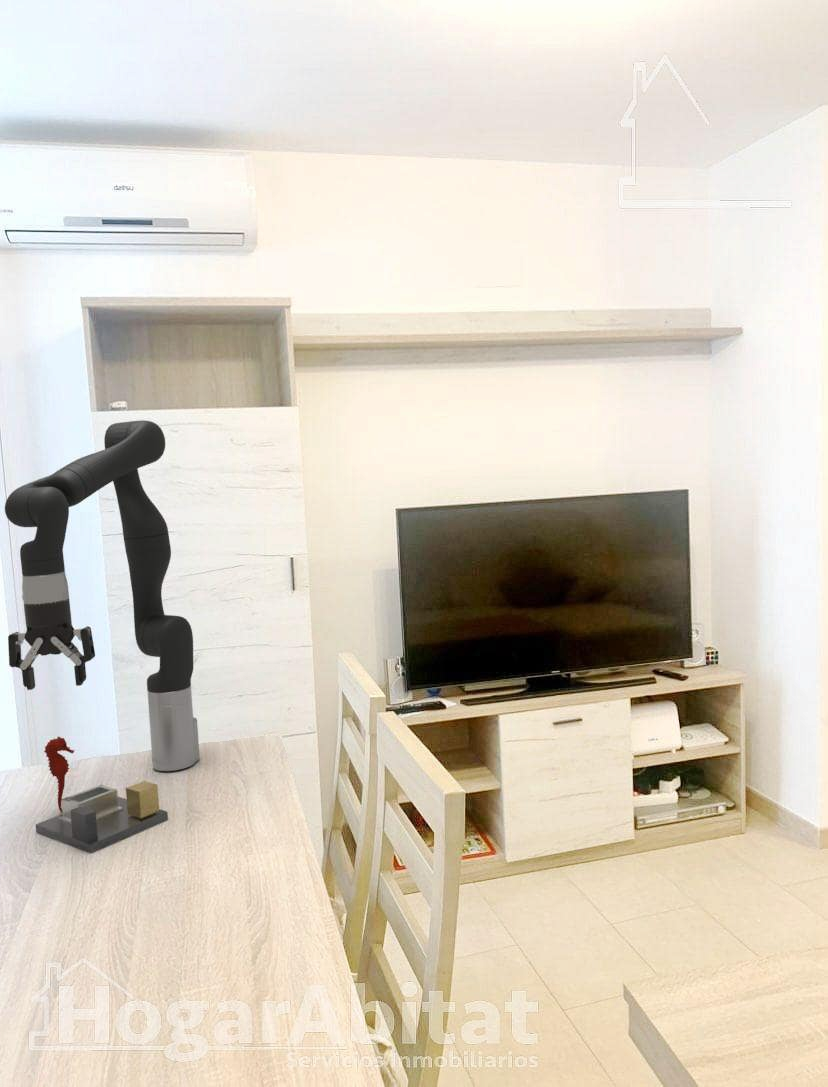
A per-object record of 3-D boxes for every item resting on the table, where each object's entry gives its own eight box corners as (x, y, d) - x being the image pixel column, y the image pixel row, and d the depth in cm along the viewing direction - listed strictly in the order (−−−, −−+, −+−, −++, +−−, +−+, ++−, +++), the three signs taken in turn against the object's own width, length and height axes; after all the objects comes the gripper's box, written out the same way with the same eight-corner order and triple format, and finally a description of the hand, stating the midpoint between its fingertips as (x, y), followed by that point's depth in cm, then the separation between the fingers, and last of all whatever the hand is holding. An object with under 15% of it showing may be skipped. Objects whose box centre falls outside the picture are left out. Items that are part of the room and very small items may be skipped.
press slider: (145, 806, 154) (144, 780, 154) (159, 810, 152) (157, 784, 151) (127, 814, 151) (125, 787, 150) (141, 818, 148) (139, 791, 148)
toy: (80, 811, 158) (74, 735, 157) (49, 817, 155) (43, 740, 154) (78, 807, 160) (72, 732, 159) (48, 813, 157) (42, 737, 156)
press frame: (113, 802, 162) (110, 770, 161) (167, 819, 152) (165, 785, 151) (36, 832, 149) (33, 797, 148) (90, 853, 139) (87, 816, 138)
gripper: (93, 592, 151) (101, 678, 152) (13, 598, 149) (22, 684, 151) (80, 598, 143) (89, 689, 145) (-4, 605, 142) (6, 695, 143)
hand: (55, 686), depth 148 cm, fingers open, 8 cm apart
